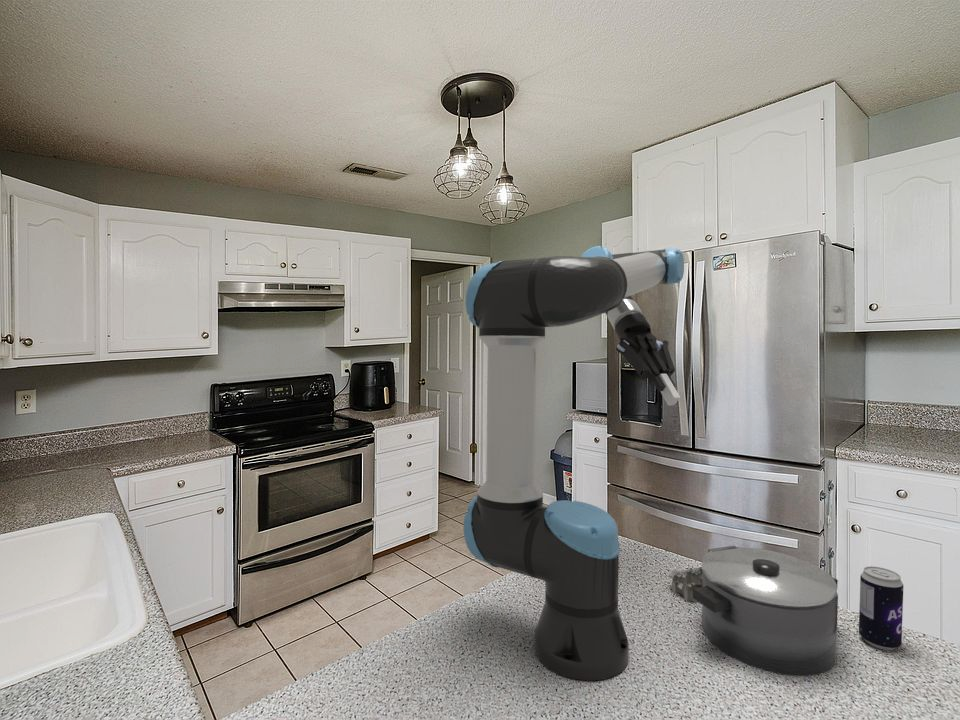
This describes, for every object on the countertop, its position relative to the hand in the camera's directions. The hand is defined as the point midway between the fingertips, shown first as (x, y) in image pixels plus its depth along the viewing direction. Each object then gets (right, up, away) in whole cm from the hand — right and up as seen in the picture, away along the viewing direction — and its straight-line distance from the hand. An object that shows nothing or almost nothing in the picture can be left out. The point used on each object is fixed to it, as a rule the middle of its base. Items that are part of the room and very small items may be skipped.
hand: (674, 401), depth 107 cm
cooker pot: (+9, -39, -19) cm, 44 cm away
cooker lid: (+8, -29, -19) cm, 35 cm away
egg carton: (+4, -39, -2) cm, 39 cm away
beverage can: (+27, -39, -20) cm, 52 cm away
